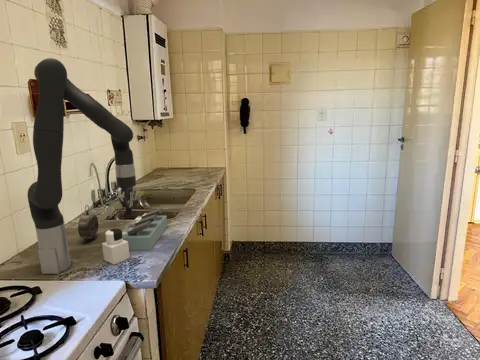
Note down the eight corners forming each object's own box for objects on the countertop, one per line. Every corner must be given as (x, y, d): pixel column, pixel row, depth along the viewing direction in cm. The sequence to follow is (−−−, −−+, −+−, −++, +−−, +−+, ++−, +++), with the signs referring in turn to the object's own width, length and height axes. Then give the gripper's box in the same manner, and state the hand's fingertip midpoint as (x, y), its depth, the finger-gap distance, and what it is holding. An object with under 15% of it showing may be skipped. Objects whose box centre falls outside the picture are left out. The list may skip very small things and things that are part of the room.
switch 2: (154, 220, 150) (152, 217, 150) (135, 227, 151) (134, 223, 151) (157, 217, 155) (156, 213, 155) (139, 223, 156) (138, 219, 156)
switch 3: (147, 227, 141) (145, 224, 141) (128, 235, 143) (126, 232, 142) (151, 223, 146) (149, 220, 146) (133, 231, 148) (131, 227, 147)
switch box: (150, 249, 141) (149, 234, 140) (117, 250, 142) (115, 235, 141) (167, 226, 168) (166, 213, 166) (139, 226, 168) (137, 213, 167)
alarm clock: (91, 234, 160) (86, 201, 157) (102, 234, 160) (97, 201, 156) (79, 244, 150) (73, 209, 146) (91, 244, 149) (86, 208, 146)
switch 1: (160, 214, 159) (158, 210, 159) (142, 220, 160) (140, 216, 160) (162, 210, 164) (161, 207, 163) (145, 216, 165) (144, 213, 165)
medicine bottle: (120, 253, 139) (116, 225, 136) (130, 258, 135) (126, 229, 132) (103, 260, 134) (99, 231, 131) (113, 265, 129) (109, 235, 127)
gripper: (128, 178, 133) (132, 220, 136) (140, 171, 146) (143, 210, 149) (109, 178, 133) (114, 220, 137) (122, 171, 146) (126, 210, 150)
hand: (129, 215), depth 143 cm, fingers closed
